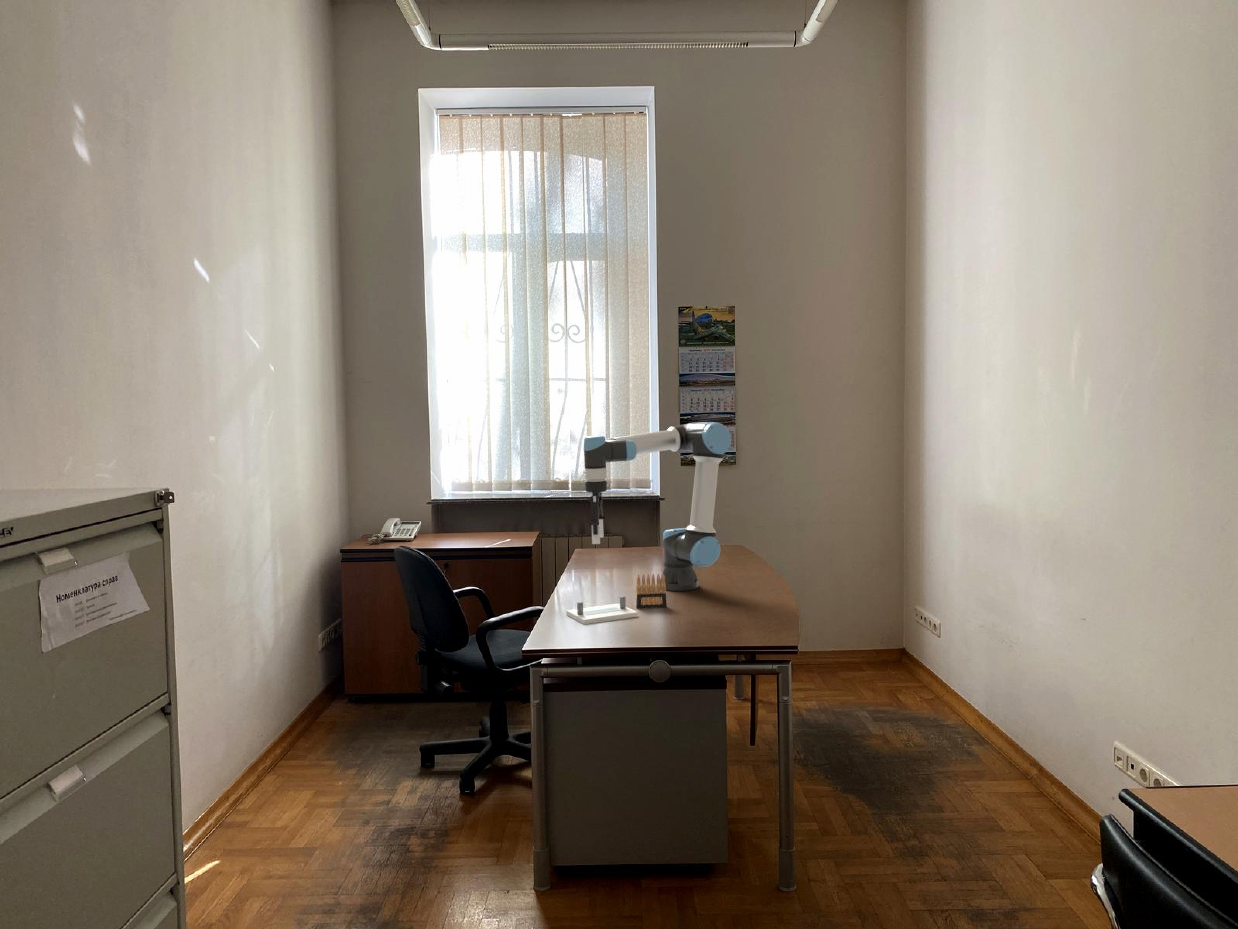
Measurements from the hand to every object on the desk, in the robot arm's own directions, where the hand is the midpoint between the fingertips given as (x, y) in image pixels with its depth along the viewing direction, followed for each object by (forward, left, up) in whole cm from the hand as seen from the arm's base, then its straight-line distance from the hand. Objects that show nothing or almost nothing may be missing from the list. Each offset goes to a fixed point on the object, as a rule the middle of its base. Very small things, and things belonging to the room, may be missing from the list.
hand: (598, 540), depth 301 cm
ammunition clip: (-17, +8, -25) cm, 31 cm away
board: (+3, +9, -24) cm, 26 cm away
